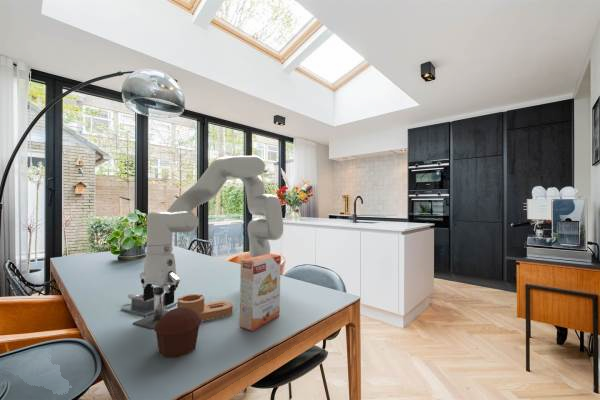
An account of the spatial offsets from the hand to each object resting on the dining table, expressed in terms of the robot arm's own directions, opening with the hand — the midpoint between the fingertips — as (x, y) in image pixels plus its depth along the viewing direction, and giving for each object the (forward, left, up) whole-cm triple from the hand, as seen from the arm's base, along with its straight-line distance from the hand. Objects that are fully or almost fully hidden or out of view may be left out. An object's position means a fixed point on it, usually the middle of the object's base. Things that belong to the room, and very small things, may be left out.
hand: (158, 301), depth 87 cm
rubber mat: (0, 0, -6) cm, 6 cm away
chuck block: (+14, -6, -6) cm, 16 cm away
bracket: (-12, -9, -6) cm, 16 cm away
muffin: (-20, +10, -6) cm, 23 cm away
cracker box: (-31, -13, -6) cm, 34 cm away
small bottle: (0, 0, -5) cm, 5 cm away
